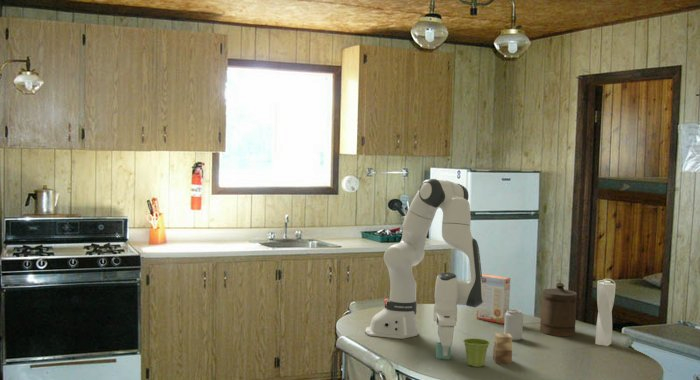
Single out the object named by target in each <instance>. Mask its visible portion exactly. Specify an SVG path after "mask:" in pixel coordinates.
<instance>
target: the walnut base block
mask: <svg viewBox="0 0 700 380" xmlns="http://www.w3.org/2000/svg"><path fill="white" fill-rule="evenodd" d="M492 360H493V361H494V364H502V365H504V364H505V365H512V364H513V362H512V361H513V350H512V351H505V350H496V348H495V346H494V345H493V350H492Z"/></svg>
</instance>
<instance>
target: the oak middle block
mask: <svg viewBox="0 0 700 380" xmlns="http://www.w3.org/2000/svg"><path fill="white" fill-rule="evenodd" d="M494 346H495V348H496V350H505V351H512V352H513V349H512V348H513V340H512V336H511V335H510V334H504V332H503V333H502V332H494V345H493V347H494Z"/></svg>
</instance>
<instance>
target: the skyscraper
mask: <svg viewBox="0 0 700 380" xmlns="http://www.w3.org/2000/svg"><path fill="white" fill-rule="evenodd" d="M612 282H613V283H612ZM616 286H617V283H616V282H615V281H614V279H612V278H603V279H600V280H597V284H596V301H597V303H596V305H597V311H598V312H597V319H596V326H595V343H594V345H599V346H604V347H609V346H610V345H612V339H613V338H612V337H613V315H612V314H613V313H612V311H613V307H614V303H615V296H616Z"/></svg>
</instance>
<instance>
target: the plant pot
mask: <svg viewBox="0 0 700 380" xmlns="http://www.w3.org/2000/svg"><path fill="white" fill-rule="evenodd" d="M463 343H464V347H465V354H466V362H467V365H468V366H472V367H475V368H476V367H479V368H480V367H483V366H485V362H486V356H487V351H488V350H487V349H488V347H489V345H490V341H489V340H486V339H481V338H475V337H474V338H472V337H471V338H470V337H469V338H465V339H463Z"/></svg>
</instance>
